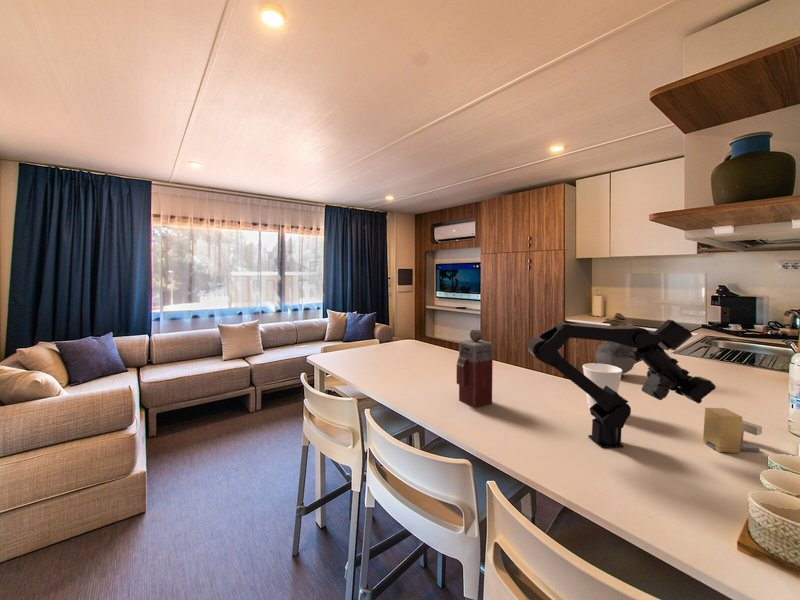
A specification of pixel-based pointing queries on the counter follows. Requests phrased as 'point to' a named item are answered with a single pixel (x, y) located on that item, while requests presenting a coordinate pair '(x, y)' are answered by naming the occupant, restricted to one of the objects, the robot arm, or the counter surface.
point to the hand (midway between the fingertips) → (699, 402)
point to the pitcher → (615, 349)
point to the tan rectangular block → (723, 429)
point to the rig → (747, 428)
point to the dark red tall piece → (475, 371)
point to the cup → (602, 377)
